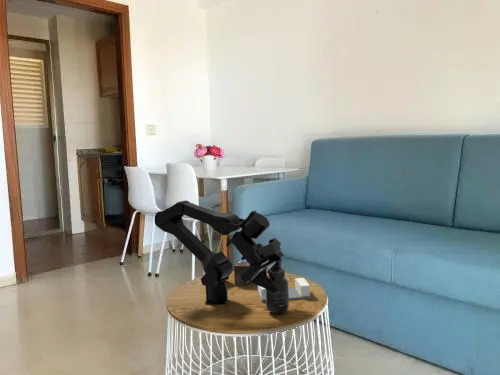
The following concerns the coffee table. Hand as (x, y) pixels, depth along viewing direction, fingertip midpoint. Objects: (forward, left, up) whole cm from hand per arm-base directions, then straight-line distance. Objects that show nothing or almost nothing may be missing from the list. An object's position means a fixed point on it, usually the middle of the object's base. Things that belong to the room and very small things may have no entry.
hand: (281, 288), depth 125 cm
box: (-13, +28, -8) cm, 32 cm away
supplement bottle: (-1, +1, -7) cm, 7 cm away
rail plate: (+1, +15, -8) cm, 16 cm away
